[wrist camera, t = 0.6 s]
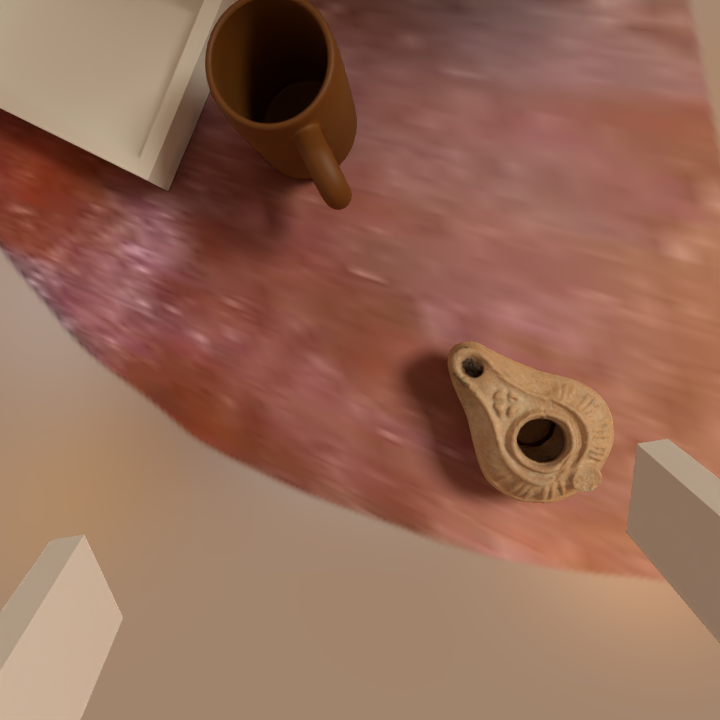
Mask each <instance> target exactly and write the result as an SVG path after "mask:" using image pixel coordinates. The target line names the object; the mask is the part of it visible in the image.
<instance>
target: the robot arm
mask: <svg viewBox="0 0 720 720" xmlns="http://www.w3.org/2000/svg"><path fill="white" fill-rule="evenodd" d="M626 533H627V534H628V535H629V536H630V537H631V539H632V540H633V541H634V542H635V543H636V544H637V546H638V547H639V548H640V549H641V550H642V552H643V553H644V554H645V555H646V556H647V558H648V559H649V560H650V561H651V562H652V563H653V565H654V566H655V567H656V568H657V569H658V571H659V572H660V573H661V574H662V575H663V577H664V578H665V579H666V580H667V581H668V582H669V584H670V585H671V586H672V587H673V588H674V590H675V591H676V592H677V593H678V594H679V595H680V597H681V598H682V599H683V600H684V601H685V603H686V604H687V605H688V606H689V607H690V608H691V610H692V611H693V612H694V613H695V614H696V616H697V617H698V618H699V619H700V620H701V622H702V623H703V624H704V625H705V626H706V628H707V629H708V630H709V631H710V632H711V633H712V635H713V636H714V637H715V638H716V639H717V640H718V642H719V643H720V479H719V478H717V477H716V476H715V475H714V474H712V473H711V472H710V471H708V470H707V469H706V468H705V467H703V466H702V465H701V464H700V463H698V462H697V461H696V460H694V459H693V458H692V457H691V456H689V455H688V454H687V453H686V452H684V451H683V450H682V449H680V448H679V447H678V446H677V445H675V444H674V443H673V442H671V441H670V440H669V439H664V440H658V441H652V442H645V443H639V444H637V448H636V457H635V465H634V473H633V482H632V490H631V498H630V506H629V515H628V523H627V531H626ZM122 619H123V617H122V615H121V612H120V610H119V608H118V606H117V604H116V602H115V599H114V597H113V595H112V593H111V591H110V589H109V587H108V584H107V582H106V580H105V578H104V576H103V574H102V572H101V569H100V567H99V565H98V563H97V561H96V559H95V557H94V554H93V552H92V550H91V548H90V546H89V544H88V541H87V539H86V537H85V535H84V534H83V535H77V536H71V537H65V538H59V539H53V540H50V541H49V543H48V544H47V546H46V547H45V549H44V550H43V551H42V553H41V554H40V556H39V557H38V559H37V560H36V562H35V563H34V564H33V566H32V567H31V569H30V570H29V572H28V573H27V574H26V576H25V577H24V579H23V580H22V582H21V583H20V585H19V586H18V587H17V589H16V590H15V592H14V593H13V595H12V596H11V598H10V599H9V600H8V602H7V603H6V605H5V606H4V608H3V609H2V611H1V612H0V720H81V717H82V715H83V712H84V710H85V707H86V705H87V703H88V701H89V698H90V696H91V693H92V691H93V689H94V686H95V683H96V681H97V679H98V677H99V674H100V672H101V669H102V667H103V665H104V662H105V660H106V657H107V655H108V653H109V650H110V648H111V645H112V643H113V641H114V638H115V636H116V634H117V631H118V629H119V626H120V624H121V621H122Z"/></svg>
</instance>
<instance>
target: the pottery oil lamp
mask: <svg viewBox="0 0 720 720" xmlns="http://www.w3.org/2000/svg"><path fill="white" fill-rule="evenodd" d="M447 361H448V369H449V374H450V378H451V381H452V384H453V386H454V388H455V391H456V393H457V396H458V398H459V400H460V402H461V405H462V406H463V409H464V411H465V414H466V416H467V419H468V422H469V428H470V431H471V437H472V441H473V445H474V449H475V453H476V456H477V460H478V463H479V466H480V468H481V471H482V473H483V475H484V476H485V478H486V480H487V481H488V482H489V483H490V484H491V485H492V486H493V487H494V488H496V489H497V490H499V491H500V492H502V493H503V494H505V495H507V496H509V497H512V498H514V499H516V500H519V501H523V502H532V503H539V502H540V503H551V502H557V501H561V500H564V499H567V498H568V497H570V496H571V495H573V494H574V493H576V492H578V491H584V492H589V491H592V490H594V489H596V488H597V487H598V486H599V485H600V483H601V481H602V475H601V472H600V469H601V468H602V467H603V464H604V462H605V461H606V459H607V457H608V455H609V453H610V450H611V448H612V445H613V439H614V436H613V433H614V432H613V430H614V429H613V418H612V414H611V413H610V410H609V408H608V406H607V404H606V403H605V401H604V400H603V398H602V397H601V396H600V395H599V394H598V393H597V392H595V391H594V390H593V389H591V388H590V387H588V386H586V385H585V384H583V383H581V382H579V381H577V380H574V379H571V378H568V377H564V376H559V375H554V374H550V373H546V372H542V371H539V370H536V369H534V368H531V367H528V366H526V365H524V364H521V363H518V362H516V361H514V360H511V359H510V358H507V357H505V356H503V355H501V354H498V353H496V352H495V351H493V350H491V349H489V348H487V347H485V346H483V345H481V344H480V343H477V342H473V341H468V342H462V343H459V344H457V345H455V346H454V347H453V348H452V349H451V350H450V352H449V355H448V360H447ZM551 422H553V423H555V424H556V425H555V429H554V432H553V434H552V436H551V437H550V439H549V440H548V441H546V442H544V443H543V444H542V443H541V444H542V445H541V446H538V447H530V446H528V445H526V446H525V445H522V446H521V445H518V444H517V439H518V440H520V441H521V442H523V443H525V444H531V443H535V442H540V440H541V439H543V438H544V437H545V436H546V434H547V433H548V431H549V429H550V425H551Z"/></svg>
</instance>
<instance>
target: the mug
mask: <svg viewBox="0 0 720 720" xmlns="http://www.w3.org/2000/svg"><path fill="white" fill-rule="evenodd" d="M205 72H206V78H207V83H208V86H209V89H210V92H211V94H212V96H213V98H214V100H215V101H216V103H217V105H218V106H219V108H220V109H221V110H222V112H223V113H224V115H225V116H226V118H227V119H228V120H229V121H230V123H231V124H232V125H233V126H234V128H235V129H236V130H237V131H238V132H239V133H240V134H241V135H242V136H243V137H244V138H245V139H246V141H247V142H248V143H249V144H250V145H251V146H252V147H253V148H254V149H255V150H256V151H257V152H258V153H259V154H260V155H261V156H262V157H263V158H264V159H265V160H266V161H267V162H268V163H269V164H270V165H271V166H272V167H273V168H275V169H276V170H277V171H279V172H281V173H282V174H284V175H287V176H290V177H293V178H297V179H312V180H313V181H314V183H315V185H316V187H317V189H318V191H319V193H320V194H321V196H322V198H323V199H324V201H325V202H326V203H327V205H328V206H329V207H331V208H333V209H337V210H340V209H344V208H345V207H346V206H348V205H349V203H350V201H351V196H352V194H351V190H350V187H349V185H348V183H347V181H346V179H345V177H344V175H343V173H342V171H341V169H340V167H339V165H340V164H341V163H342V162H343V160H344V159H345V158H346V156H347V155H348V153H349V152H350V150H351V148H352V145H353V142H354V139H355V135H356V127H357V118H356V111H355V106H354V102H353V99H352V95H351V91H350V87H349V83H348V80H347V76H346V73H345V69H344V66H343V62H342V58H341V55H340V52H339V49H338V47H337V44H336V42H335V40H334V37H333V35H332V33H331V31H330V28H329V26H328V24H327V22H326V21H325V19H324V17H323V16H322V15H321V13H320V12H319V11H318V10H317V9H316V8H315V7H314V6H313V5H312V4H311V3H309V2H308V1H307V0H238V1H236V2H235V3H234V4H232V5H231V6H230V7H229V8H228V9H227V10H226V11H225V12H224V13H223V14H222V16H221V17H220V18H219V19H218V21H217V23H216V24H215V26H214V28H213V30H212V32H211V34H210V37H209V40H208V44H207V48H206V56H205Z"/></svg>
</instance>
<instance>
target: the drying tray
mask: <svg viewBox="0 0 720 720" xmlns="http://www.w3.org/2000/svg"><path fill="white" fill-rule="evenodd" d="M236 1H238V0H0V109H2V110H4V111H6V112H8V113H10V114H12V115H14V116H16V117H18V118H20V119H22V120H24V121H26V122H28V123H30V124H32V125H34V126H36V127H39V128H41V129H43V130H45V131H47V132H49V133H51V134H53V135H55V136H57V137H59V138H61V139H63V140H65V141H67V142H69V143H71V144H73V145H75V146H77V147H79V148H81V149H83V150H85V151H87V152H89V153H91V154H93V155H95V156H97V157H99V158H101V159H104V160H106V161H108V162H110V163H112V164H114V165H116V166H118V167H120V168H122V169H124V170H126V171H128V172H130V173H132V174H134V175H136V176H138V177H140V178H142V179H144V180H146V181H148V182H150V183H152V184H154V185H156V186H158V187H160V188H162V189H164V190H166V191H169V189H170V186H171V184H172V181H173V179H174V177H175V174H176V172H177V169H178V167H179V165H180V162H181V160H182V158H183V155H184V153H185V150H186V148H187V146H188V143H189V141H190V138H191V136H192V134H193V131H194V129H195V127H196V124H197V122H198V119H199V117H200V115H201V112H202V110H203V107H204V105H205V103H206V100H207V98H208V96H209V93H210V89H209V86H208V83H207V78H206V72H205V56H206V48H207V44H208V40H209V37H210V34H211V32H212V30H213V28H214V26H215V24H216V23H217V21H218V19H219V18H220V17H221V16H222V14H223V13H224V12H225V11H226V10H227V9H228V8H229V7H230V6H231V5H232V4H234V3H235V2H236Z"/></svg>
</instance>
